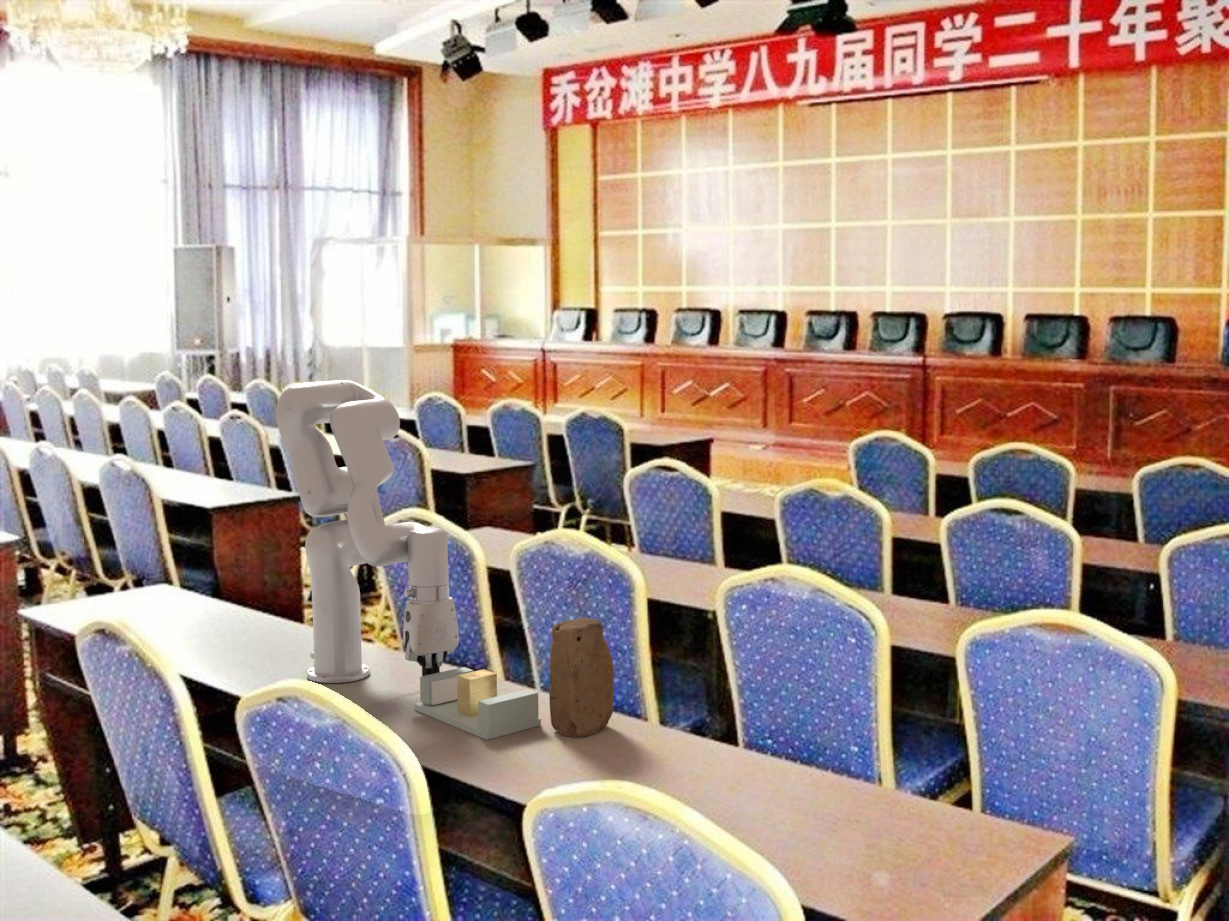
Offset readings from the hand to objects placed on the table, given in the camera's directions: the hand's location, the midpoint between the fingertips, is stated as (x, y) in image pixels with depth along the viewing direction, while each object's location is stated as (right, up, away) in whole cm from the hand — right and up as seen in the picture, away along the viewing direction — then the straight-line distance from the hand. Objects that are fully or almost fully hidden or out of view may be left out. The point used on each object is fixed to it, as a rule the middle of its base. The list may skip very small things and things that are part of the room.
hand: (431, 686), depth 266 cm
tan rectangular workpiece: (+10, -3, -11) cm, 15 cm away
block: (+29, -5, -18) cm, 35 cm away
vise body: (+10, -4, -11) cm, 15 cm away
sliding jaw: (+4, -2, -4) cm, 6 cm away
